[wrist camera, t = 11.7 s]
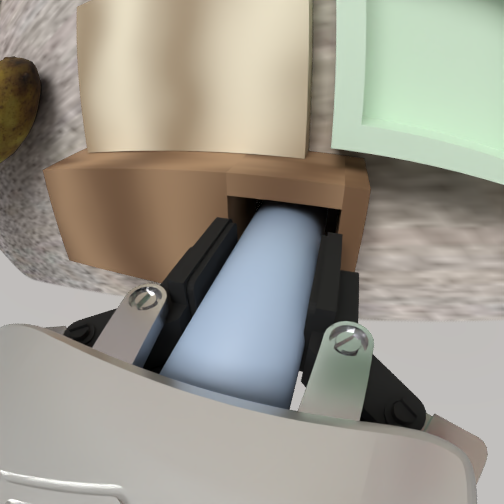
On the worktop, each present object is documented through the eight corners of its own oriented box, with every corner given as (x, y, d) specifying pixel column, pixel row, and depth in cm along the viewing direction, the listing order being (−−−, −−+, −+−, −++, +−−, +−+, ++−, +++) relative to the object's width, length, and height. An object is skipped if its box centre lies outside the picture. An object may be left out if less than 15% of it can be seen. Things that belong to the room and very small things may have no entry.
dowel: (264, 231, 16) (156, 446, 7) (265, 174, 15) (116, 390, 5) (324, 239, 16) (270, 480, 6) (331, 182, 14) (278, 443, 4)
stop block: (105, 228, 20) (69, 260, 17) (88, 147, 16) (42, 170, 13) (346, 265, 16) (342, 317, 13) (364, 158, 13) (370, 189, 10)
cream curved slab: (109, 142, 17) (88, 152, 15) (100, 8, 12) (76, 6, 10) (309, 148, 14) (304, 158, 12) (312, -28, 9) (307, -43, 7)
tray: (333, 132, 13) (331, 148, 10) (333, -77, 6) (328, -107, 4) (531, 180, 10) (559, 205, 8) (541, -11, 4) (572, -17, 1)
